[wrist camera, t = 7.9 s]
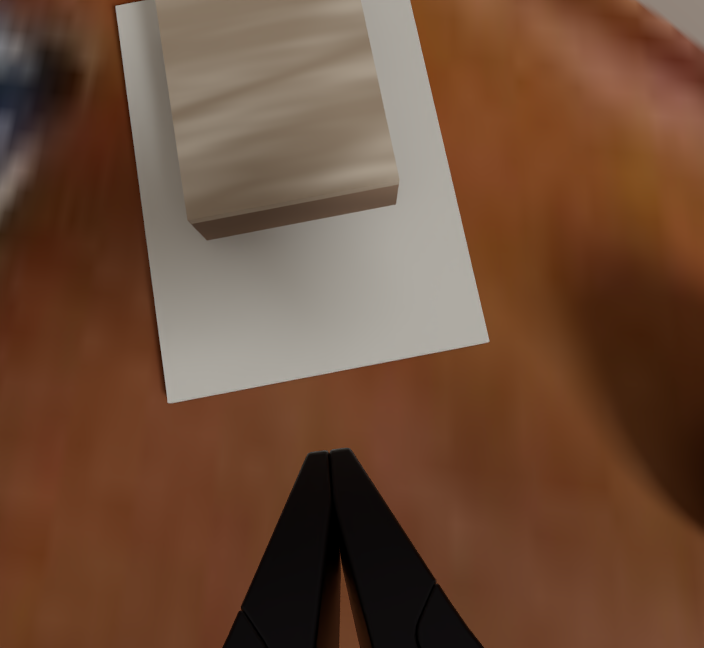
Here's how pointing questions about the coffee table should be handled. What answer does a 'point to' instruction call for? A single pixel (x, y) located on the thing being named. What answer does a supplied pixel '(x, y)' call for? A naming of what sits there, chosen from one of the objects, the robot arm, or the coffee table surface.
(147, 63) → the grey mat
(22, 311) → the coffee table surface
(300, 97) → the walnut plaque
